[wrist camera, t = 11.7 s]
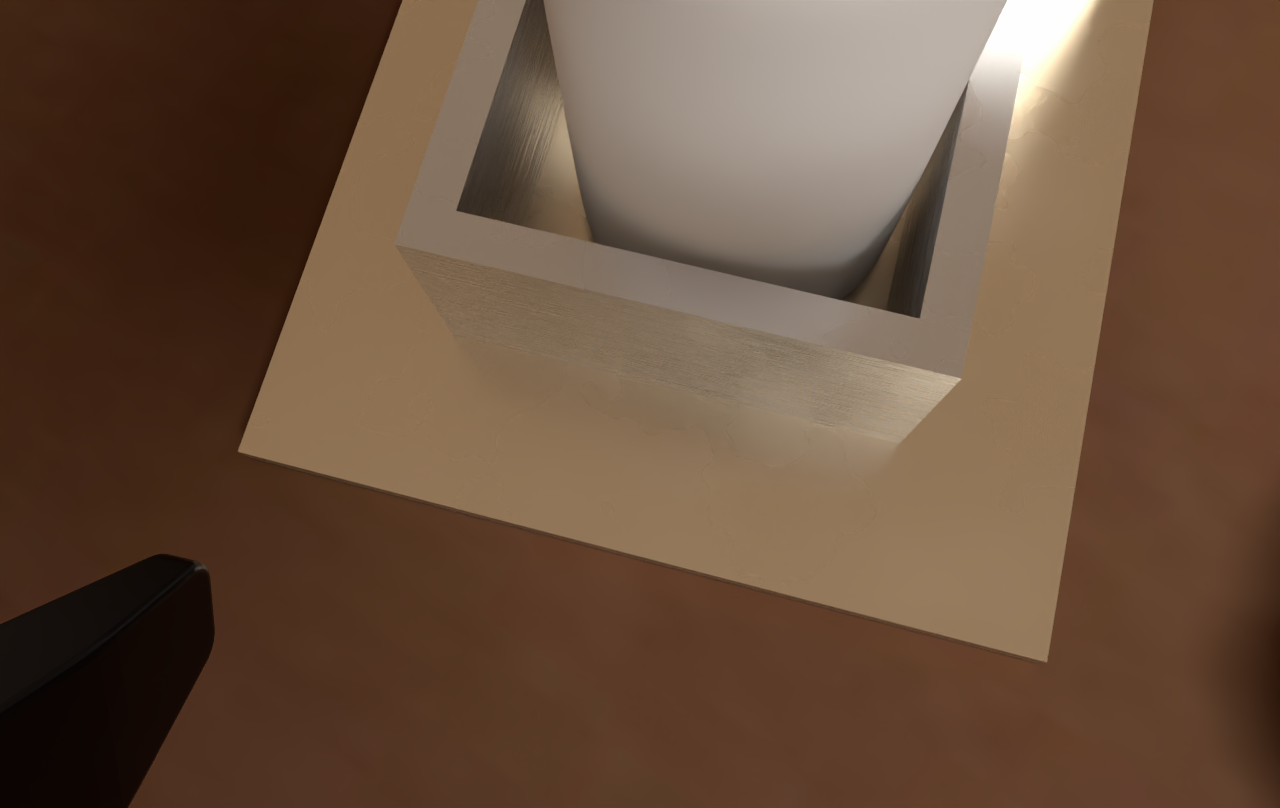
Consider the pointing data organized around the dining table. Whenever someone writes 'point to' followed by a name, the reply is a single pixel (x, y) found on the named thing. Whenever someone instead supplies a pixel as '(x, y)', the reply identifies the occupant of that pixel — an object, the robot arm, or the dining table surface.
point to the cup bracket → (722, 336)
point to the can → (760, 125)
